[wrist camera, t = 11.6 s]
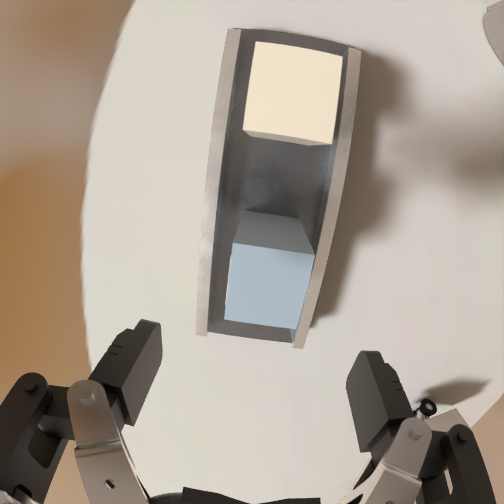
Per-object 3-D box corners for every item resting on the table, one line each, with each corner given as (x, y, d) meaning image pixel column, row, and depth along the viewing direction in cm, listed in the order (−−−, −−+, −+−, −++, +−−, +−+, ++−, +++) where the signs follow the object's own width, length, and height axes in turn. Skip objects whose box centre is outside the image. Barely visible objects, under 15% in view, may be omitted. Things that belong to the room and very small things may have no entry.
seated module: (259, 77, 19) (254, 41, 11) (317, 86, 19) (343, 56, 11) (250, 136, 20) (241, 129, 13) (309, 145, 20) (332, 144, 13)
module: (243, 210, 22) (231, 242, 15) (300, 218, 22) (315, 255, 15) (236, 266, 24) (223, 319, 17) (288, 274, 24) (296, 329, 17)
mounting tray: (235, 36, 19) (230, 18, 15) (348, 54, 19) (361, 40, 15) (204, 319, 29) (195, 342, 25) (297, 331, 29) (300, 356, 25)
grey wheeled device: (447, 392, 35) (393, 406, 32) (474, 428, 26) (422, 456, 23) (435, 407, 36) (379, 422, 33) (459, 443, 27) (404, 470, 24)
